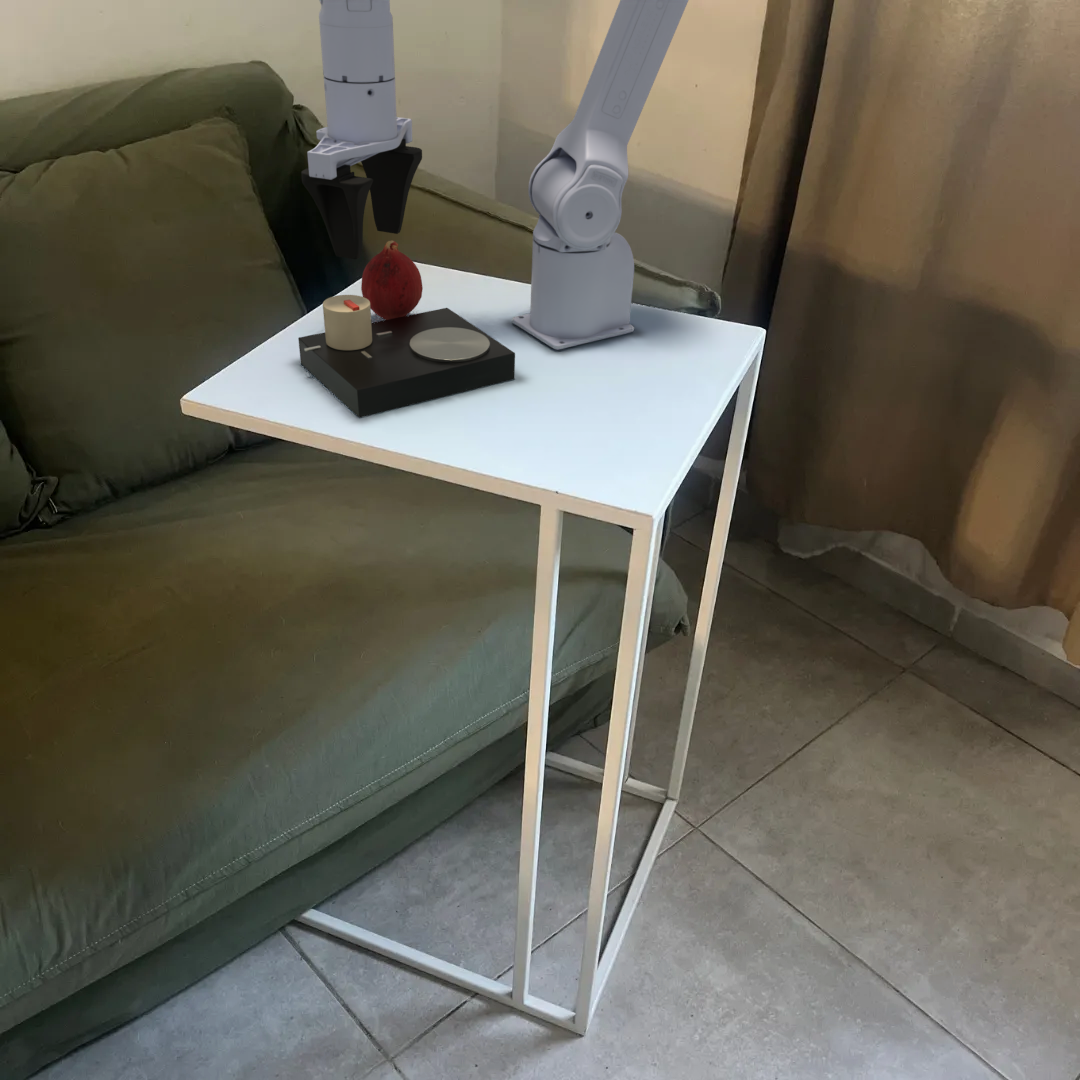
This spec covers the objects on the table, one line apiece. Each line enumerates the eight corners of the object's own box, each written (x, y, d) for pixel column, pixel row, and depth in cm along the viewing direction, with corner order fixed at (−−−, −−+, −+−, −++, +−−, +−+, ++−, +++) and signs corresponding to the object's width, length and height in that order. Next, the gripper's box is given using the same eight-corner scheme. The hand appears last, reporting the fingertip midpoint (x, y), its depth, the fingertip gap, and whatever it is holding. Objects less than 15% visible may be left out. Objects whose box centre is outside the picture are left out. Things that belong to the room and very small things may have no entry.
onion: (412, 337, 96) (410, 254, 92) (354, 330, 97) (349, 248, 92) (430, 315, 101) (428, 235, 96) (375, 308, 102) (370, 229, 97)
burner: (464, 325, 93) (464, 321, 92) (505, 352, 88) (505, 349, 88) (395, 339, 89) (395, 336, 89) (434, 369, 85) (434, 365, 84)
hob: (441, 328, 98) (441, 301, 97) (514, 379, 89) (515, 351, 88) (289, 360, 91) (286, 332, 89) (352, 419, 82) (350, 389, 80)
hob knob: (318, 337, 89) (314, 296, 87) (359, 329, 91) (357, 288, 89) (338, 354, 86) (334, 311, 84) (380, 344, 88) (378, 303, 86)
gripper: (358, 59, 88) (367, 215, 96) (266, 86, 77) (285, 261, 85) (432, 67, 87) (435, 225, 94) (349, 96, 75) (360, 274, 83)
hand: (369, 243), depth 89 cm, fingers open, 7 cm apart
